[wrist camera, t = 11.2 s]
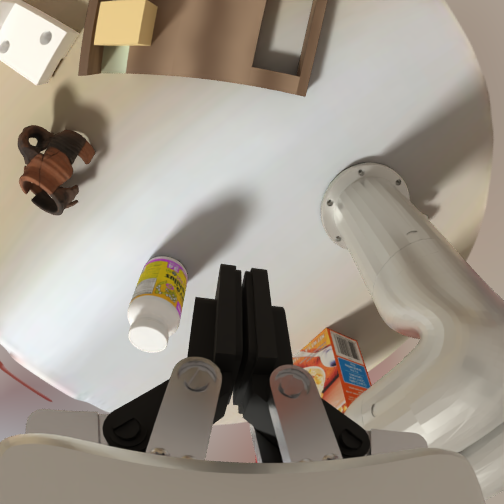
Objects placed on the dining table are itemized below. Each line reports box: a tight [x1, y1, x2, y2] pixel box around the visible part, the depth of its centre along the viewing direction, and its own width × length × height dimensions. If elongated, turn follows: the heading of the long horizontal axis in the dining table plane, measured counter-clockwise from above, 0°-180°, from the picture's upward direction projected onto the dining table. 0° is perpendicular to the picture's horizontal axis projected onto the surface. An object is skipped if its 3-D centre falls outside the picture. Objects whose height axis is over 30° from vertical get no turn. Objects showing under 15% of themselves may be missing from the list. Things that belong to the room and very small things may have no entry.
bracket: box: [0, 0, 80, 85], centre depth 22 cm, size 13×7×8 cm, turn 49°
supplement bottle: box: [127, 256, 188, 353], centre depth 39 cm, size 7×7×13 cm
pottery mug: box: [18, 125, 95, 215], centre depth 32 cm, size 12×10×8 cm
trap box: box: [78, 0, 327, 97], centre depth 24 cm, size 23×15×6 cm, turn 79°
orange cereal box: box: [255, 328, 372, 463], centre depth 46 cm, size 23×8×30 cm, turn 147°
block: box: [94, 0, 158, 46], centre depth 22 cm, size 4×4×4 cm
